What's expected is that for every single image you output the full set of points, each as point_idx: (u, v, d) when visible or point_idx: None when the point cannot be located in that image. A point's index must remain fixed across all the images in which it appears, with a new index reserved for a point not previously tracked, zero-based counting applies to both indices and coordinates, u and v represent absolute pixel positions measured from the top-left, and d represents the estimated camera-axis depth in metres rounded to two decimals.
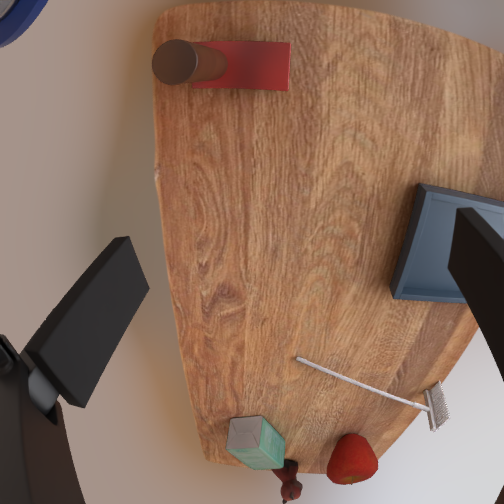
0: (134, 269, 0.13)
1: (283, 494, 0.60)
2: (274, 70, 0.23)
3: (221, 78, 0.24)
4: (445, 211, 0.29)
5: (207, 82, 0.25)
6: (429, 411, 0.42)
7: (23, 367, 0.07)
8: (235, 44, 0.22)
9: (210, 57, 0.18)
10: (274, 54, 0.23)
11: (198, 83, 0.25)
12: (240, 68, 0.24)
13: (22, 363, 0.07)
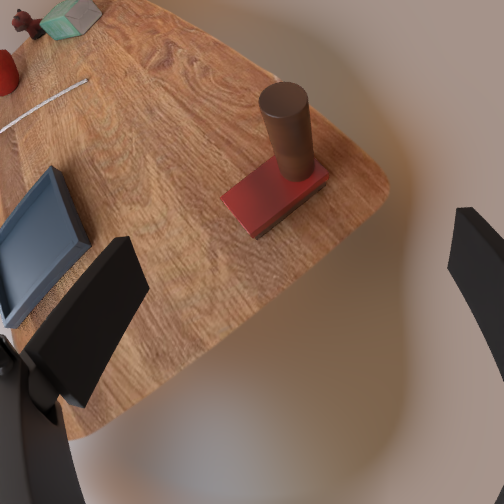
0: (134, 269, 0.13)
1: (23, 13, 0.45)
2: (242, 202, 0.26)
3: None
4: (61, 249, 0.32)
5: None
6: None
7: (23, 367, 0.07)
8: (292, 196, 0.25)
9: (275, 142, 0.20)
10: (254, 214, 0.26)
11: None
12: (270, 181, 0.26)
13: (22, 363, 0.07)
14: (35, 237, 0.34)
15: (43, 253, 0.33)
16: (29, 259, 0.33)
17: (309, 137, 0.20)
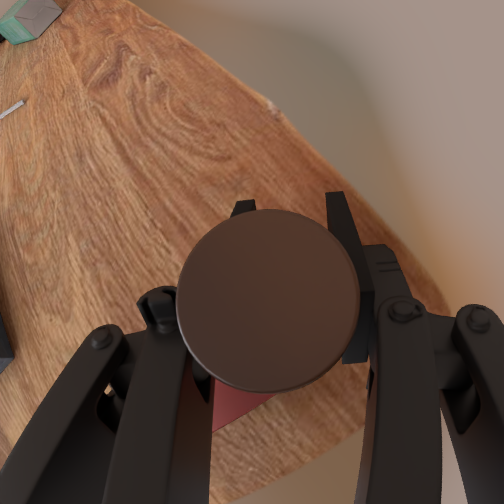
0: None
1: None
2: None
3: None
4: None
5: None
6: None
7: None
8: None
9: None
10: (215, 403, 0.13)
11: None
12: None
13: None
14: None
15: None
16: None
17: None
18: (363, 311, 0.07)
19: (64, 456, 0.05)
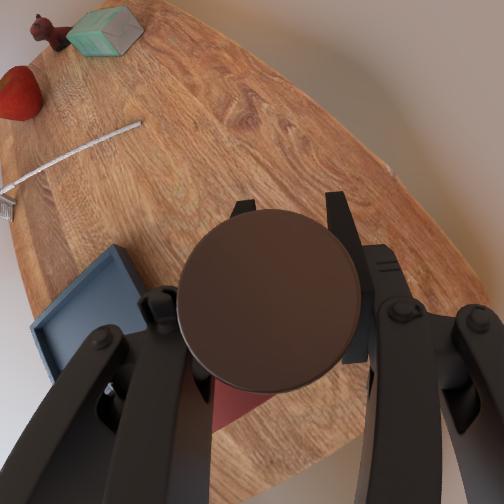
0: None
1: (44, 20, 0.43)
2: None
3: None
4: None
5: None
6: None
7: None
8: None
9: None
10: (215, 403, 0.13)
11: None
12: None
13: None
14: None
15: None
16: None
17: None
18: (363, 311, 0.07)
19: (64, 456, 0.05)
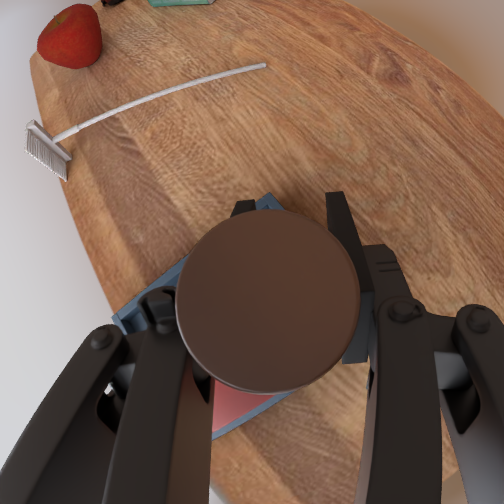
0: None
1: None
2: None
3: None
4: None
5: None
6: (50, 138, 0.29)
7: None
8: None
9: None
10: (215, 403, 0.13)
11: None
12: None
13: None
14: None
15: None
16: None
17: None
18: (363, 311, 0.07)
19: (64, 456, 0.05)
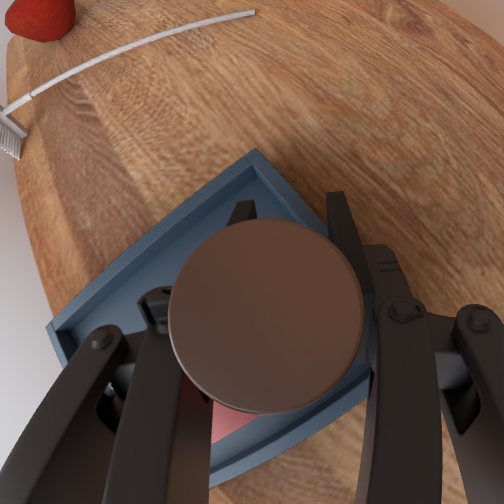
0: None
1: None
2: None
3: None
4: None
5: None
6: (0, 109, 0.21)
7: None
8: None
9: None
10: (214, 414, 0.13)
11: None
12: None
13: None
14: None
15: None
16: None
17: None
18: None
19: (64, 456, 0.05)
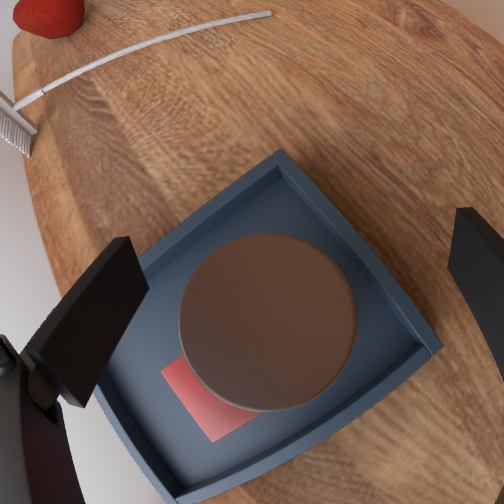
0: (134, 269, 0.13)
1: None
2: (198, 388, 0.14)
3: None
4: (355, 356, 0.15)
5: None
6: (10, 105, 0.21)
7: (23, 367, 0.07)
8: None
9: None
10: (218, 411, 0.13)
11: None
12: None
13: (22, 363, 0.07)
14: None
15: None
16: None
17: None
18: None
19: None
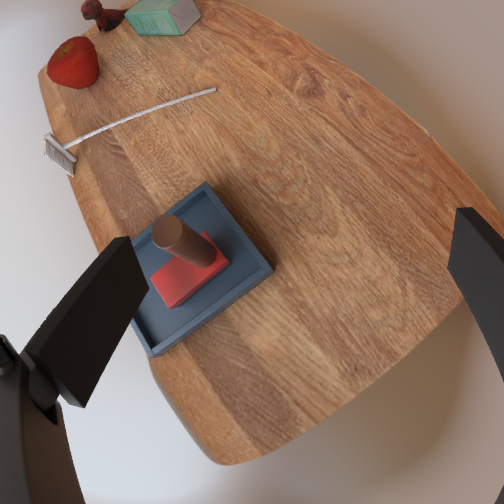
0: (134, 269, 0.13)
1: (96, 0, 0.48)
2: (164, 283, 0.35)
3: None
4: (234, 274, 0.36)
5: None
6: (61, 146, 0.42)
7: (23, 367, 0.07)
8: (198, 280, 0.34)
9: None
10: (171, 292, 0.34)
11: (202, 236, 0.35)
12: (183, 267, 0.35)
13: (22, 363, 0.07)
14: None
15: None
16: None
17: (196, 248, 0.29)
18: None
19: None
